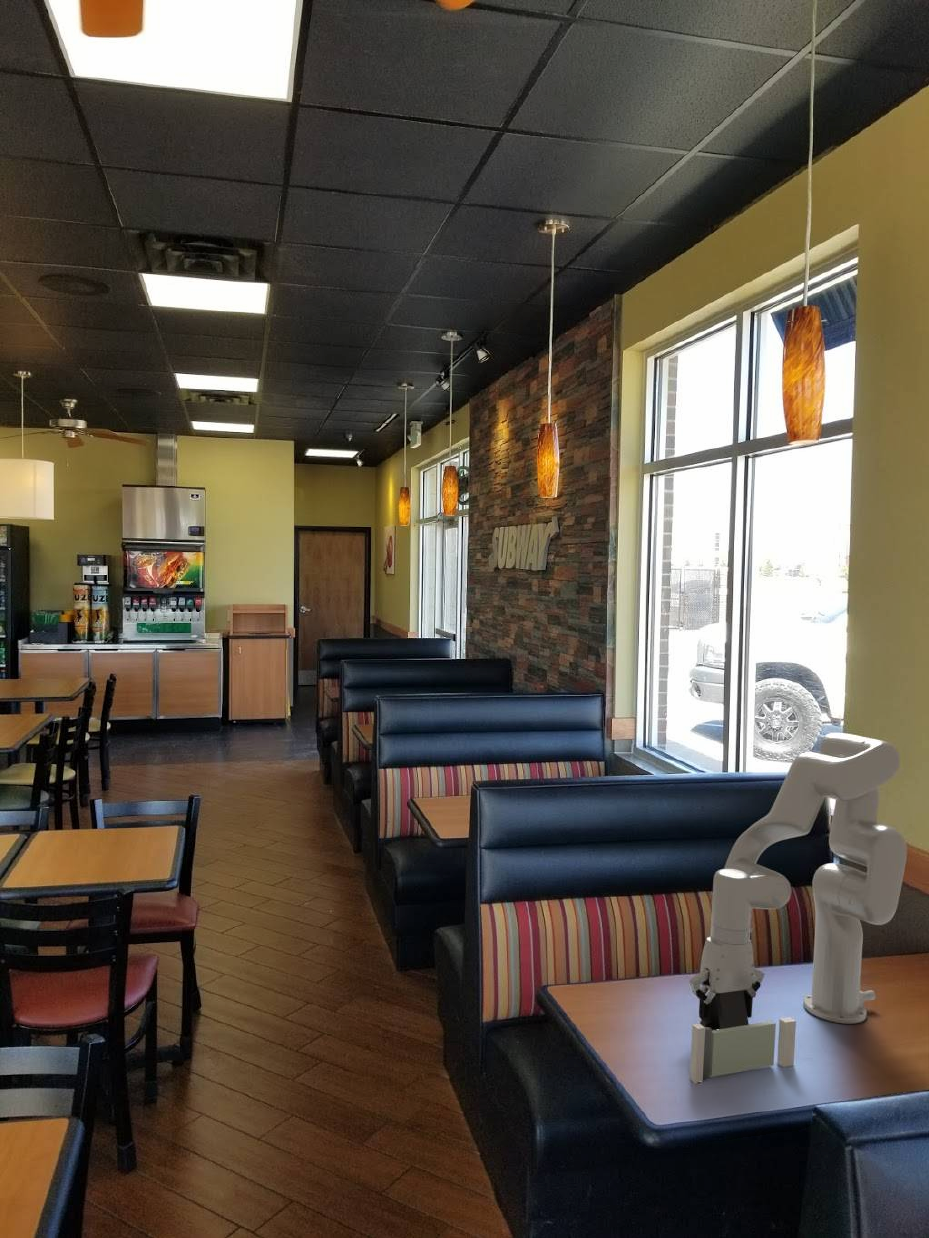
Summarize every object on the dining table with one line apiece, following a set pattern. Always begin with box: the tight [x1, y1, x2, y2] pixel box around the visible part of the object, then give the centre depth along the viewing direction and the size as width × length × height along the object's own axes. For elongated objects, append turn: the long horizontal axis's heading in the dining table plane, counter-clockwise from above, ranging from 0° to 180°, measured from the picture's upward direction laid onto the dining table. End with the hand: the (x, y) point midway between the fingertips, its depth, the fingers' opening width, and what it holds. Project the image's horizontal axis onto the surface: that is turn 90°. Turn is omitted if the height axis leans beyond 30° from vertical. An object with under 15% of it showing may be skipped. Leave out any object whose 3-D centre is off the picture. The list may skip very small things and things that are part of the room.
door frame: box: [689, 1016, 797, 1084], centre depth 165 cm, size 22×2×10 cm, turn 111°
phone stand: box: [699, 990, 750, 1031], centre depth 178 cm, size 9×6×12 cm, turn 23°
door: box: [703, 1020, 777, 1080], centre depth 165 cm, size 16×1×9 cm, turn 111°
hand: (725, 1017), depth 178 cm, fingers open, 9 cm apart
